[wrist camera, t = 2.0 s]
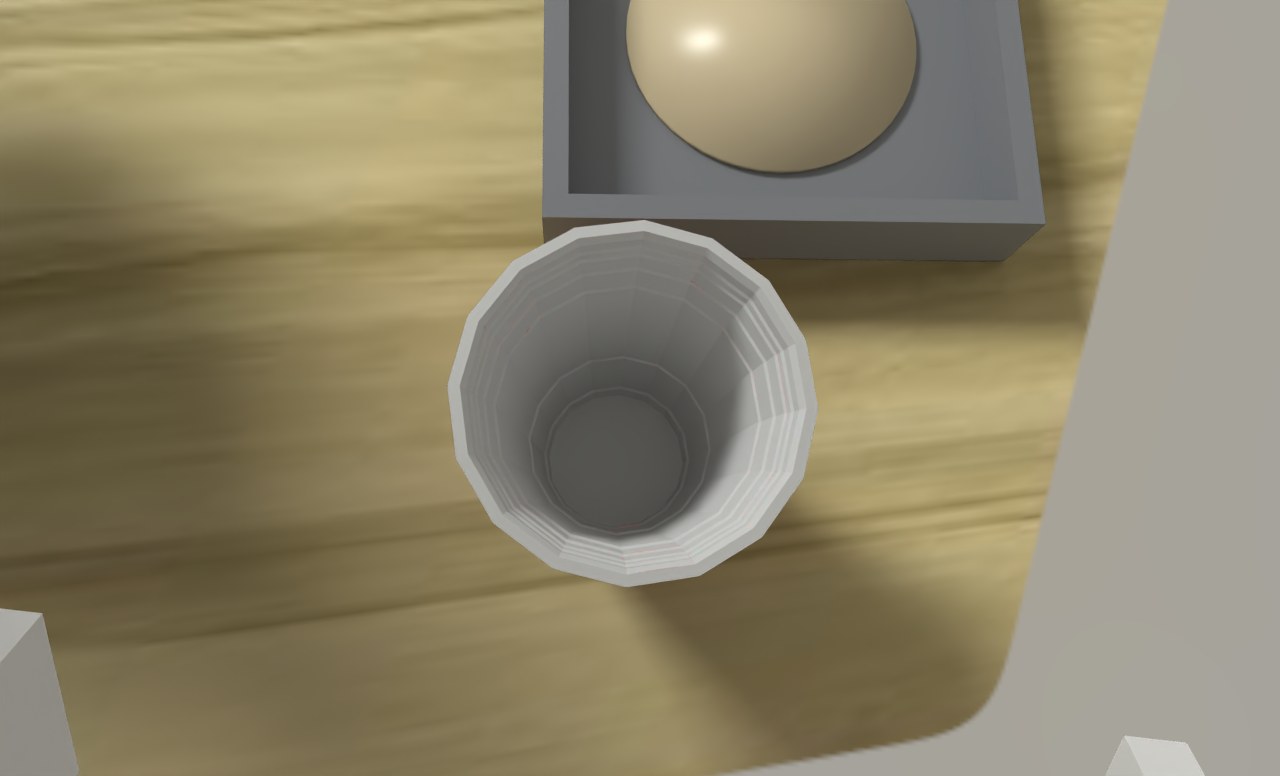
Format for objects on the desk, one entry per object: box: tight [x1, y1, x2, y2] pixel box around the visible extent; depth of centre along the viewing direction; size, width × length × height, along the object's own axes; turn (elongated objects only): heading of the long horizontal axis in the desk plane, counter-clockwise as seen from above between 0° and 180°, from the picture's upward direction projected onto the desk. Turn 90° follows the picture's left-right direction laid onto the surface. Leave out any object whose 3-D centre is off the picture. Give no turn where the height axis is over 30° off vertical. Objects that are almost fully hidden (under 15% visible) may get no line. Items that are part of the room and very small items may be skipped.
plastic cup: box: [447, 220, 818, 587], centre depth 34 cm, size 11×11×12 cm
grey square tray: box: [542, 0, 1046, 261], centre depth 43 cm, size 20×20×4 cm
